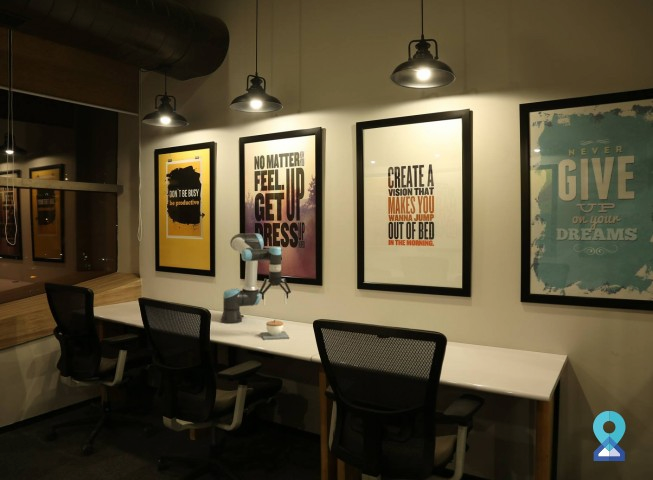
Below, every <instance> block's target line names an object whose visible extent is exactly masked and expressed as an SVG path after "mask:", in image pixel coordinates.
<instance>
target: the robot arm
mask: <svg viewBox="0 0 653 480" xmlns="http://www.w3.org/2000/svg"><path fill="white" fill-rule="evenodd" d="M229 244H230V247H231V249H232V250H234V251H237V252H238V253H239V254H241V260H242V261H243V262H245V270H244V271H245V272H244V273H245V275H244V276H245V277H244V286H242V290H241V289H240V288H238V287H237V288H230V289H226V290H224V291H223V295H222V296H223V297H222V300H223V303H222V304H223V309H222V310H223V311H222V314H221V317H220V322H221V323H222V324H237V323H241V322H243V316H242V313H241V311H240V309H241V307H253V306H257V305H259V303H260V301H261V299H262V301H263V304H262V305H264V306H265V305H266V292H267V291H268V290H269V289H270V288H271V287H272V286H273V287H274V286H275V287H278V286H280V288H281V289H282V290H283V292H284V305H287V299H289V294H291V293H292V291H291V288H290V286H289V284H288V282H287V279H286V278H282V254H283V253H282V247H281V246H270V247H269V248H264V239H263V236H262V234H260V233H253V232H252V233H248V232H247V233H237V234H235V235H234V236H232V237H231V239H230V241H229ZM262 261H263V262H264V261H266V262H267V261H268V263H269V266H268V267H269V269H268V270H269V272H268V273H269V275H268V279H267V278H264V279H263V283H262V285H261V286H260V289H259V287H258V285H257V284H258V282H257V281H258V264H259V263H258V262H262ZM281 282H283V283H284V286H285V287H286V288H285V287H284V286H283V285H282V283H281ZM267 283H268V284H267ZM266 285H267V286H266Z"/></svg>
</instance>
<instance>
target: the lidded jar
mask: <svg viewBox="0 0 653 480" xmlns="http://www.w3.org/2000/svg"><path fill="white" fill-rule="evenodd" d="M283 329H284V322H283V321H280V320H276V319H274V320H271V321H267V322H266V330H267V331H266V332H268V333H269V334H270V335H271V336H278V335H280V333H281V332H282V331H283Z"/></svg>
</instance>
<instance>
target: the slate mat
mask: <svg viewBox="0 0 653 480" xmlns="http://www.w3.org/2000/svg"><path fill="white" fill-rule="evenodd" d="M260 335H261V337H262V339H263V341H269V340H270V341H271V340H272V341H273V340H289V339H290V336H289V335H288V334H287V332H286V331H283V330H282V332H281V333H280V335H278V336H271V335H270V334H269V333H268V331H265V332H264V331H262V332H260Z"/></svg>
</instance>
